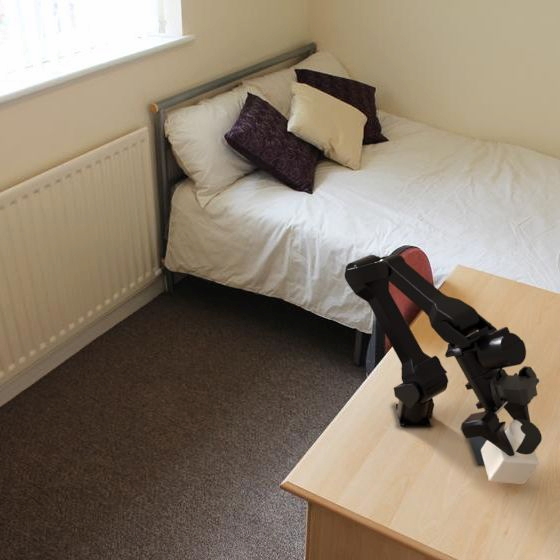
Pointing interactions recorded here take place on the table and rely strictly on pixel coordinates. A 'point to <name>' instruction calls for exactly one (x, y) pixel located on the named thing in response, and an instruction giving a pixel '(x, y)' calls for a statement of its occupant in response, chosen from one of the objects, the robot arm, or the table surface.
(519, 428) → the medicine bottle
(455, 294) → the table surface
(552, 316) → the table surface
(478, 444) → the felt pad
